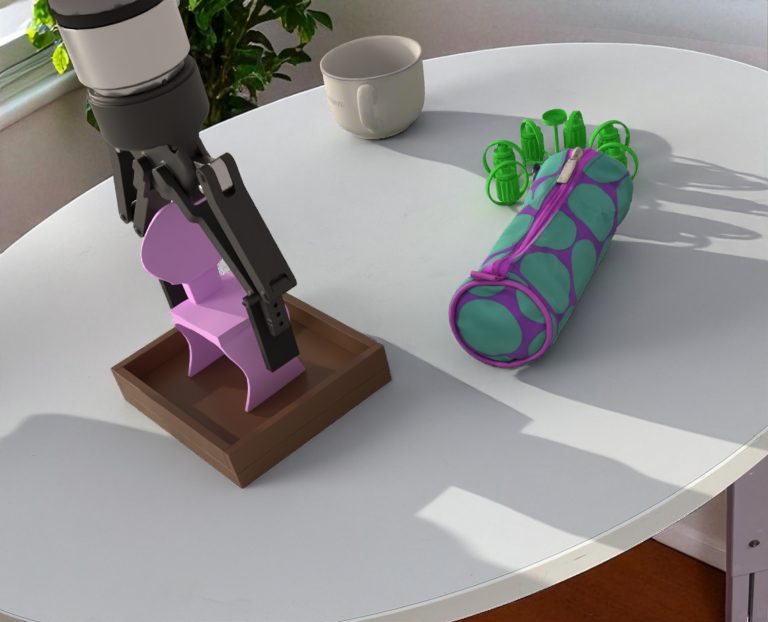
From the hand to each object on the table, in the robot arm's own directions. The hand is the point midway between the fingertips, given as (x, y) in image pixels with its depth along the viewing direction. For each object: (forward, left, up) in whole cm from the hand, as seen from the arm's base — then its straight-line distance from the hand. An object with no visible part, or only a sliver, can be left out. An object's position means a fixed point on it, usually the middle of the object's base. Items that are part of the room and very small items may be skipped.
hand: (232, 330), depth 85 cm
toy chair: (0, 0, -5) cm, 5 cm away
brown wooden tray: (0, 0, -6) cm, 6 cm away
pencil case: (+6, +25, -6) cm, 27 cm away
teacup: (-32, +28, -6) cm, 43 cm away
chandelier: (-9, +36, -6) cm, 38 cm away
